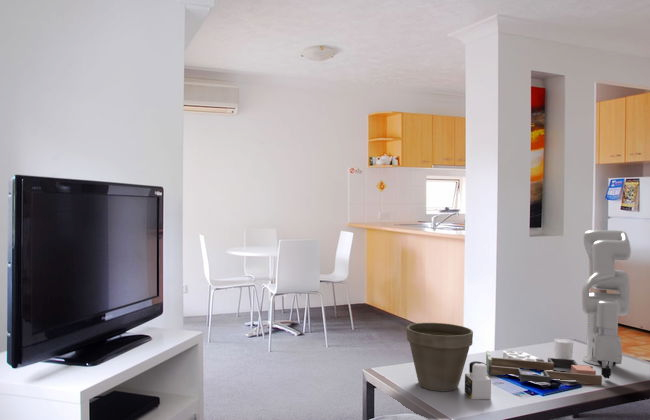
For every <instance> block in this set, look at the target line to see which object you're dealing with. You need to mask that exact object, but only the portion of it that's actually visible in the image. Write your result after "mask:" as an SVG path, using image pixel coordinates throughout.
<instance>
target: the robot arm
mask: <svg viewBox="0 0 650 420" xmlns="http://www.w3.org/2000/svg"><path fill="white" fill-rule="evenodd" d="M583 246H584V249H585V251H586V253H587V257H588V263H589V264H588V268H589V269H588V278H587V279H586V281H585V282H584V284H583V286H582V288H581V308H582V311H583V313H584V314H586V315H587V323H586V324H587V328H586V329H587V330H586V332H587V336H586V355H585V356H583V357H582V361H583V362H584V363H587V364H590V365H592V366H593V365H594V366H599V367H601V376H602V378H604V379H610V377H611V376H612V375H611V374H612V369H613V368H614V366H616V365H621V364H622V360H623V348H622V340H621V339H622V338H621V336H620V335H618V332H619V328H618V327H619V316H623V317H624V316H628V315H629V314H630V309H631V293H630V291H631V289H630V286H631V284H630V276H629V274H628V273H627V272H626V271H625V270H622V269H616V261H628V260H629V259H630V257H631V253H632V251H631V250H632V247H631V244H630V240H629V237H628V233H626V232H625V231H623V230H613V229H611V230H610V229H591V230H587V231H585V232H584V234H583ZM591 288H592V289H595V290H601V291H602V290H603V291H615V292H617V293H609V292H601V291H600V292H598V291H595V292H590V290H591Z"/></svg>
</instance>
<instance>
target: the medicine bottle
mask: <svg viewBox="0 0 650 420" xmlns="http://www.w3.org/2000/svg"><path fill="white" fill-rule="evenodd" d="M468 369H469V370H468V373H464V393H465V394H466V395H467V397H469V398H470V400H472V401H473V400H477V401H478V400H480V401H481V400H491V399H492V379H491V378H489V377H488V376H487V375H488V371H487V365H486V363H485V362H483V361H477V360H476V361H472V362H470V363H469V368H468Z"/></svg>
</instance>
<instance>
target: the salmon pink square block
mask: <svg viewBox="0 0 650 420" xmlns="http://www.w3.org/2000/svg"><path fill="white" fill-rule="evenodd" d="M581 365H582V364H578V365H571V372H570V373H579V374H590V375H597V373H596V371H597V370H595V369H594V368H593V369H592V368H591V367H590V366H591V365H586V366H581Z"/></svg>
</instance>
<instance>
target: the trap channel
mask: <svg viewBox="0 0 650 420" xmlns="http://www.w3.org/2000/svg"><path fill="white" fill-rule="evenodd" d="M485 353H486V354H485V358H486V359H485V360H486V361H485V362H486V363H485V364H486V365H487V375H488V376H497V375H506V374H515V375H519V378H520V381H519V383H520V382H523V381H536V382H548V383H550V384H551V381H550V379H560V380H576V381H578V382H579V383H578V384H582V385H583V384H585V385H595V386H602V384H603V383H602V382H603V375H602V374H601V375H598V374H596V375H590V374H579V373H571V365H579V363H578V362H576V360H575V359H572V360H569V359H557V358H555V357H547V361H545V362H540V361H528V360H517V359H505V358H503V357H492V356H491V353H490V350H489V351H488V350H487V351H486V352H485ZM580 365H581V366H587V365H584V364H580ZM589 366H590V367H591V368H592V369H594V367H593V365H589ZM520 368H526V369H525V370H529V369H537V370H536V371H540V370H544V371H543V375H539V374H538V375H537V374H525V373H523V371H522V369H520ZM546 370H553V371H546ZM554 370H556V371H554ZM560 371H565V372H560Z"/></svg>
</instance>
